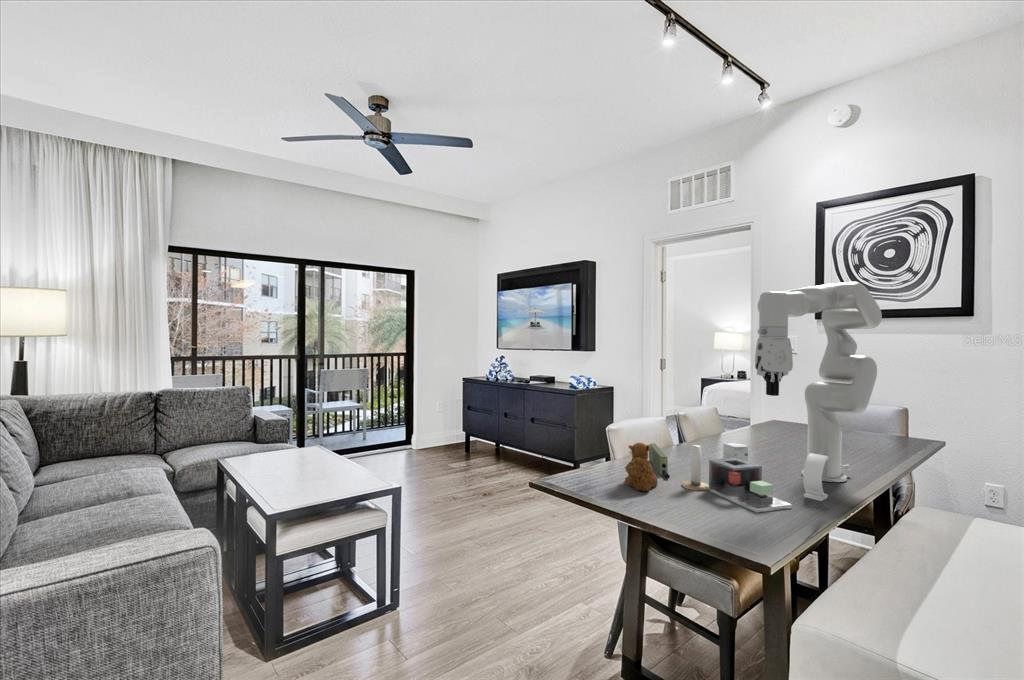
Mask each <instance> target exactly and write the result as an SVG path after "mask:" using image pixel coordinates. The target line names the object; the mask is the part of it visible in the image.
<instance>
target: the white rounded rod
mask: <svg viewBox="0 0 1024 680" xmlns="http://www.w3.org/2000/svg"><path fill="white" fill-rule="evenodd" d="M690 449H691V451H690V453H691V454H690V455H691V456H690V459H691V460H690V461H691V462H690V481H691V485H693V486H701V482H702V481H701V480H702V479H701V477H702V473H701V472H702V445H699V444H692V445H691V447H690Z"/></svg>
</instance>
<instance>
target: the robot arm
mask: <svg viewBox="0 0 1024 680" xmlns="http://www.w3.org/2000/svg"><path fill="white" fill-rule="evenodd" d="M757 311H758V313H759V318H758V329H757V333H758V338H757V341H756V344H755V345H756V347H755V351H754V352H755V353H754V368H755V370H756V375H757V376H761V377H762V378H763V380H764V382H765V394H766V395H767V396H772V397H774V396H775V397H776V396H777V397H778V396H780V383H781V382H782V379H783V377H785V376H788V375H789V372H791V371H792V370H793V368H794V367H793V363H794V361H793V348H792V343H791V339H790V338H789V332H788V331H789V318H797V317H803V316H805V315H807V314H816V313H821V321H822V325H823V328H824V332H825V334H826V339H827V343H826V347H825V351H824V353H823V357H822V358H821V362H820V365H819V368H818V374H819V377H820V378H821V380H824V381H813V382H811V383H809V384H808V385H807V386H806V387H805V389H804V400H805V401H804V402H805V404H806V411H807V449H806V451H807V452H806V453H807V457H808V455H809V454H810V453H813V454H819V455H825V456H828V459H827V461H826V462H825V465H824V468H823V472H822V482H827V483H828V482H829V483H843V482H847V480H848V477H847V475H846V474H844V472H847V471H851V469H852V466H851V465H850V464H843V463H842V449H843V447H842V445H843V444H842V443H843V442H842V439H843V427H842V425H843V424H842V422H841V420H840V419H839V417H838V416H837V414H836V413H841V414H849V415H861V414H862V413H864V412H866V410H867V408H868V406H869V402H870V401H871V396H872V393H873V390H874V387H875V385H876V381H877V376H878V366H877V362H876V361H875V360H874V359H873V358H872V357H871V356H868V355H861V354H856V352H857V350H858V345H857V342H856V341H855V339H854V338H853V337H852V335H851V334H849V332H848V331H847V330H870V329H876V328H878V326H880V325H881V323H882V317H883V315H882V310H881V308H880V305H879V304H878V303H877V301H876V300H875V298H874V296H873V295H872V293H871V292H870V291H869V289H868V288H867V287H866V286H865V285H864V284H863V283H860V281H859V282H858V281H848V282H847V281H846V282H837V283H826V284H820V285H815V286H807V287H802V288H796V289H790V290H784V291H778V290H777V291H763V292H762V293H761V294H760V296H759V299H758V302H757ZM807 457H806V458H807ZM803 470H804V468H803V469H802V470H801V475H802V476H803Z"/></svg>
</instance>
